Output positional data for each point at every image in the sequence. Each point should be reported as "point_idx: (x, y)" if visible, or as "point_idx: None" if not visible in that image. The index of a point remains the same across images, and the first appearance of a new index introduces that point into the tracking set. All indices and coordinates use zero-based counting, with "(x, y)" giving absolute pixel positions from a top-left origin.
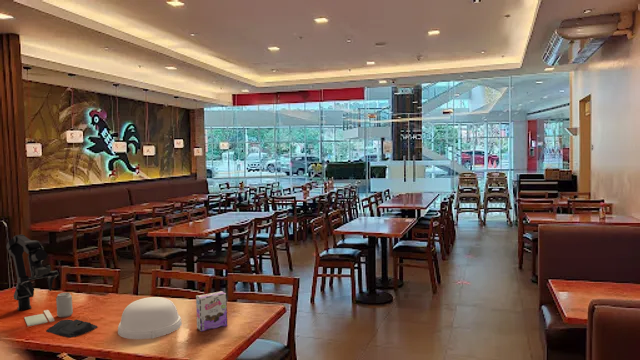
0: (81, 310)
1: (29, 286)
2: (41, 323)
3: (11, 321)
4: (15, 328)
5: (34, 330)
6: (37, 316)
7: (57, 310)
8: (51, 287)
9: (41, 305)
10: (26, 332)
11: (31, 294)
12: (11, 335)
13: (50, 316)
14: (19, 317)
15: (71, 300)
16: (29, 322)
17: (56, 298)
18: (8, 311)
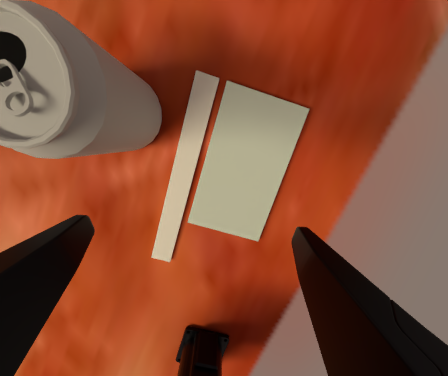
0: None
1: (427, 355)
2: (253, 90)
3: None
4: (346, 134)
5: (324, 9)
6: (221, 204)
7: (151, 110)
8: (34, 236)
9: (146, 334)
10: (359, 16)
11: (309, 230)
12: (413, 42)
13: (184, 153)
14: (262, 264)
15: (16, 45)
16: (282, 148)
17: (106, 99)
18: (249, 358)
